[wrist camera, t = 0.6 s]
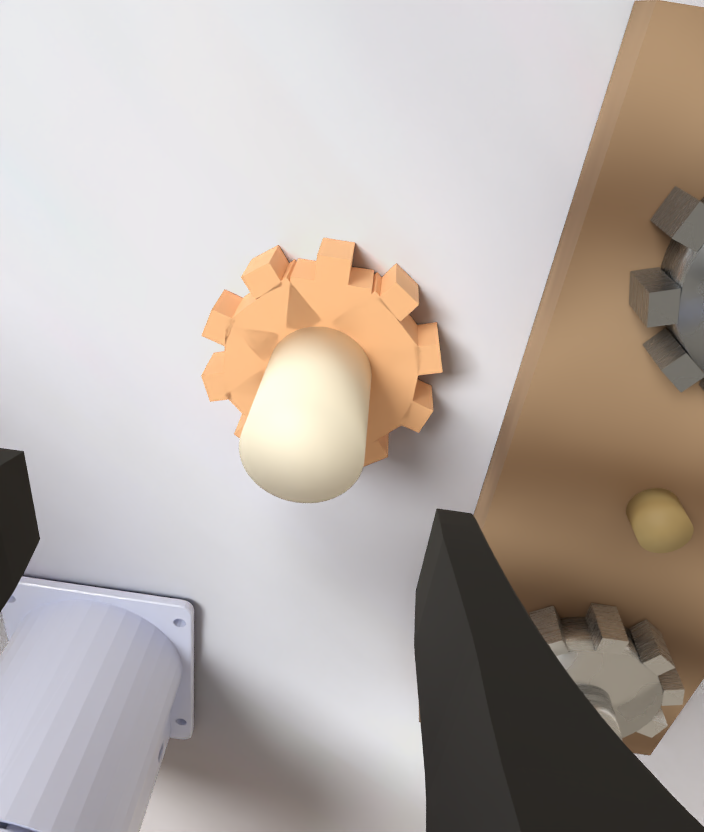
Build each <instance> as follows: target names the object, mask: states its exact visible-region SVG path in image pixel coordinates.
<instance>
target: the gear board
mask: <svg viewBox="0 0 704 832" xmlns="http://www.w3.org/2000/svg"><path fill="white" fill-rule="evenodd" d="M675 186H676V187H678V188H680V189H682V190H683V191H685V192H687V193H688V194H690V195H692V196H694V197H695V198H697V199H699V200H701V199H702V198H703V197H704V7H698V6H692V5H686V4H679V3H673V2H667V1H661V0H643V1H635V2H634V5H633V8H632V11H631V14H630V18H629V21H628V24H627V27H626V30H625V34H624V37H623V40H622V43H621V46H620V50H619V53H618V56H617V59H616V62H615V65H614V69H613V72H612V75H611V78H610V81H609V85H608V88H607V91H606V94H605V97H604V101H603V104H602V107H601V110H600V113H599V117H598V120H597V123H596V126H595V129H594V132H593V136H592V139H591V142H590V145H589V148H588V152H587V155H586V158H585V161H584V164H583V168H582V171H581V174H580V177H579V180H578V184H577V187H576V190H575V193H574V196H573V199H572V203H571V206H570V209H569V212H568V215H567V219H566V222H565V225H564V228H563V231H562V235H561V238H560V241H559V244H558V247H557V251H556V254H555V257H554V260H553V263H552V266H551V270H550V273H549V276H548V279H547V282H546V286H545V289H544V292H543V295H542V298H541V302H540V305H539V308H538V311H537V314H536V318H535V321H534V324H533V327H532V330H531V333H530V337H529V340H528V343H527V346H526V349H525V353H524V356H523V359H522V362H521V365H520V369H519V372H518V375H517V378H516V381H515V384H514V388H513V391H512V394H511V397H510V400H509V404H508V407H507V410H506V413H505V416H504V420H503V423H502V426H501V429H500V432H499V436H498V439H497V442H496V445H495V448H494V451H493V455H492V458H491V461H490V464H489V467H488V471H487V474H486V477H485V480H484V483H483V487H482V490H481V493H480V496H479V499H478V503H477V506H476V509H475V512H474V515H473V516H474V517H475V519H476V520H477V522H478V524H479V526H480V528H481V530H482V532H483V534H484V536H485V538H486V540H487V542H488V544H489V546H490V548H491V550H492V552H493V554H494V556H495V558H496V559H497V561H498V563H499V565H500V567H501V568H502V570H503V572H504V574H505V576H506V577H507V579H508V581H509V583H510V584H511V586H512V588H513V590H514V591H515V593H516V595H517V596H518V598H519V599H520V601H521V603H522V604H523V606H524V608H525V609H526V611H527V613H528V614H529V613H530V612H534V611H537V610H540V609H544V608H547V607H551V606H554V608H555V609H556V611H557V613H558V615H559V617H560V619H561V618H569V617H585V615H586V613H587V611H588V609H589V607H590V605H591V603H594V604H601V605H608V606H615V607H617V610H618V613H619V615H620V618H621V621H622V624H623V626H625V627H626V628H628V629H630V628H631V627H633V626H635V625H636V624H638V623H640V622H642V621H644V620H646V619H647V620H648V621H649V622H650V623H651V624H652V625H653V626H654V627H656V628H657V629H658V630H659V631H660V632H661V634H662V636H663V639H664V641H665V644H666V646H667V648H668V651H669V653H670V655H671V658H672V660H673V663H674V665H675V667H676V670H677V672H678V675H679V677H680V679H681V682H682V684H683V687H684V689H685V691H684V698H683V705H670V706H662V705H661V708H662V711H663V714H664V716H665V719H666V722H667V724H668V726H667V727H666V728H664V729H663V730H662V731H660V732H659V733H658V734H656V735H655V736H654V737H652V738H651V737H648V736H646V735H643V734H640V733H638V732H634V733H633V734H630V735H628V736H626V737H624V738H622V741H623V743H624V744H625V745H626V746H627V747H628V748H629V749H630V750H631V751H632V752H633V753H637V754H644V755H651V753H652V752H653V750H654V749H655V748H656V746H657V745H658V743H659V742H660V740H661V739H662V737H663V736H664V735H665V733H666V732H667V730H668V729H669V727H670V726H671V725H672V723H673V722H674V720H675V719H676V717H677V716H678V714H679V713H680V712H681V710H682V709H683V707H684V706H685V704H686V703H687V702H688V700H689V699H690V697H691V696H692V694H693V693H694V691H695V690H696V689H697V687H698V686H699V684H700V683H701V681H702V680H703V679H704V391H703V389H702V388H701V387H700V386H699V384H700V382H701V380H702V379H701V380H699V381H698V382H696V383H695V384H693V385H692V386H690V387H689V388H687V389H686V390H684V391H683V392H680V391H679V390H678V389H677V388H676V387H675V386H674V384H673V383H672V382H671V381H670V380H669V379H668V378H667V377H666V375H665V374H664V373H663V372H662V371H661V370H660V368H659V367H658V365H657V364H656V363H655V361H654V360H653V359H652V357H651V356H650V354H649V353H648V352H647V350H646V349H645V347H644V346H643V345H642V344H644V343H645V342H646V341H648V340H649V339H651V338H652V337H653V336H655V335H656V334H657V333H659V332H660V331H662V330H663V329H664V328H666V329H667V330H668V328H667V326H666V325H664V326H656V327H649V328H647V327H646V326H645V324H644V323H643V322H642V320H641V319H640V318H639V317H638V315H637V314H636V313H635V311H634V310H633V309H632V308H631V306H630V305H629V287H630V271H635V270H642V269H649V268H656V267H660V268H661V264H662V261H663V258H664V255H665V252H666V249H667V247H668V245H669V243H670V241H671V239H672V238H671V237H669V236H668V235H667V234H666V233H665V232H663V231H662V230H661V229H660V228H659V227H658V226H656V225H655V224H654V223H653V222H652V221H650V219H651V218H652V217H653V215H654V214H655V212H656V211H657V210H658V208H659V207H660V206H661V204H662V203H663V202H664V200H665V199H666V198H667V196H668V195H669V194H670V192H671V191H672V190H673V188H674V187H675ZM668 331H669V330H668ZM669 332H670V331H669ZM670 334H671V333H670ZM671 335H672V334H671ZM697 366H698V365H697ZM702 372H703V371H702ZM703 373H704V372H703ZM529 616H530V614H529ZM419 722H421V721H420V709H419Z"/></svg>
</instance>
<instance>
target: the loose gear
mask: <svg viewBox="0 0 704 832" xmlns="http://www.w3.org/2000/svg"><path fill="white" fill-rule="evenodd" d="M354 247H355V243H354V242H347V241H341V240H334V239H328V238H323V240H322V243H321V246H320V249H319V252H318V254H317V261H312V260H306V259H299V258H298V260H297V262H296V260H295V259H294V260H293V261H291V262H290V263H289V262H288V260H287V259H286V257H285V255H284V254H283V252H282V250H281V249H280V247H279V245H278V246H276V247H274V248H272V249H270V250H268V251H266V252H265V253H263V254H261V255H259V256H257V257H255V258H253V259H252V260H251V262H250V263H249V265H248V267H247V268H246V270H245V271H244V273H243V275H242V276H241V278H242V280H243V281H244V283H245V284H246V286H247V288H248V289H249V291H250V293H249V294H248V295H246V296H245V297H244V298H242V297H239V296H237V295H235V294H233V293H231V292H229V291H226V290H224V291H223V293H222V294H221V296H220V297H219V299H218V301H217V302H216V304H215V305H214V307H213V308H212V310H211V313H210V315H209V318H208V321H207V323H206V326H205V328H204V331H203V333H202V336H203V337H206V338H208V339H210V340H212V341H215V342H217V343H219V344H221V345H223V346H225V351H224V352H216V353H214V354H213V355H212V357H211V359H210V361H209V363H208V364H207V366H206V368H205V370H204V372H203V373H202V375H201V376H202V379H203V382H204V385H205V388H206V391H207V394H208V397H209V400H210V402H211V401H219V400H227V399H229V400H230V401H231V402H232V403H233V404H234V405H235V406H236V407H237V409H238V410H239V411H240V412H241V413H242V416H241V418H240V421H239V423H238V426H237V428H236V431H235V433H234V434H235V435H236V436H237V437H239V438H240V441H239V453H240V458H241V461H242V464H243V466H244V468H245V470H246V472H247V473H248V475H249V476H250V477H251V478H252V480H253V481H254V482H255V483H256V484H257V485H259V486H260V487H261V488H262V489H264V490H265V491H267V492H268V493H270V494H272V495H274V496H276V497H279V498H281V499H284V500H288V501H292V502H298V503H317V502H323V501H327V500H330V499H333V498H335V497H337V496H339V495H341V494H343V493H344V492H346V491H347V490H348V489H349V488H351V487H352V486H353V484H354V483H355V482H356V481H357V479H358V478H359V476H360V474H361V472H362V469H363V467H364V466H366V465H369V464H372V463H374V462H377V461H379V460H382V459H384V458H387V457H388V440H389V432H391V431H393V430H394V429H396V428H398V427H400V426H401V425H402V426H404V427H406V428H409V429H411V430H413V431H415V432H418V433H419V432H420V430H421V429H422V427H423V426H424V424H425V423H426V421H427V420H428V418H429V417H430V415H431V414H432V412H433V399H432V386H431V385H429V384H426V383H424V382H422V381H420V380H418V379H417V378H418V375H426V374H434V373H442V372H443V371H442V362H441V353H440V345H439V336H438V328H437V322H434V323H427V324H420V325H417V324H416V323H415V321H414V320H413V319H412V317H411V316H410V315H409V313H411V312H412V311H413V310H414V309H415V308H416V307H417V306H418V305H419V292H418V284H417V283H416V282H415V281H414V280H413V279H412V278H411V277H410V276H409V275H408V274H407V273H406V272H405V271H404V270H403V269H402V268H401V267H400V266H399V265H398V264H397V263H396V264H395V265H394V266H393V267H392V268H391V269H390V270H389V271H388V272H387V273H386V274H385V275H384V276H383V277H381V276H380V275H379V273H378V272H377V273H375V274H374V270H370V269H364V268H357V267H352V261H353V254H354Z"/></svg>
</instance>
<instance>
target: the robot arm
mask: <svg viewBox="0 0 704 832" xmlns="http://www.w3.org/2000/svg"><path fill="white" fill-rule="evenodd" d="M39 540H40V537H39V531H38V526H37V520H36V515H35V510H34V504H33V499H32V493H31V488H30V482H29V477H28V472H27V466H26V461H25V455H24V451H17V450H10V449H3V448H0V612H2V616H3V621H4V625H5V629H6V633H7V638H8V643H7V645H6V647H5V648H4V650H3V651H2V653H1V655H0V832H139V831H140V828H141V825H142V822H143V819H144V816H145V813H146V809H147V806H148V803H149V800H150V797H151V794H152V791H153V788H154V785H155V781H156V778H157V775H158V772H159V769H160V766H161V763H162V760H163V757H164V753H165V750H166V747H167V744H168V741H169V738H175V739H189V738H190V737H191V736H192V733H193V729H194V608H193V606H192V605H191V603H189V602H188V601H185V600H181V599H174V598H167V597H161V596H154V595H147V594H140V593H133V592H126V591H119V590H113V589H106V588H99V587H92V586H85V585H78V584H71V583H64V582H58V581H51V580H44V579H37V578H30V577H23V576H22V575H23V573H24V571H25V569H26V568H27V565H28V563H29V561H30V559H31V557H32V555H33V553H34V551H35V549H36V546H37V544H38V542H39ZM414 648H415V661H416V674H417V686H418V698H419V709H420V721H421V733H422V744H423V756H424V768H425V785H426V832H704V827H703V826H702V825H701V824H700V823H699V822H698V821H697V820H696V819H695V818H694V817H693V816H692V815H691V814H690V813H689V812H688V811H687V810H686V809H685V808H684V807H683V806H682V805H681V804H680V803H679V802H678V801H677V800H676V799H675V798H674V797H673V796H672V795H671V794H670V793H669V791H668V790H667V789H666V788H665V787H664V786H663V785H662V784H661V783H660V782H659V781H658V780H657V778H656V777H655V776H654V775H653V774H652V773H651V772H650V771H649V770H648V769H647V768H646V767H645V765H644V764H643V763H642V762H641V761H640V760H639V759H638V758H637V757H636V756H635V755H634V754H633V752H632V751H631V750H630V749H629V748H628V747H627V746H626V745H625V744H624V743H623V741H622V740H621V739H620V738H619V737H618V735H617V734H616V733H615V732H614V731H613V730H612V728H611V727H610V726H609V725H608V724H607V722H606V721H605V720H604V719H603V718H602V716H601V715H600V714H599V713H598V711H597V710H596V709H595V708H594V706H593V705H592V704H591V703H590V701H589V700H588V699H587V697H586V696H585V695H584V694H583V692H582V691H581V690H580V688H579V687H578V686H577V684H576V683H575V682H574V680H573V679H572V678H571V676H570V675H569V674H568V672H567V671H566V669H565V668H564V667H563V665H562V664H561V663H560V661H559V660H558V658H557V657H556V655H555V654H554V652H553V651H552V649H551V648H550V646H549V645H548V644H547V642H546V641H545V639H544V638H543V636H542V635H541V633H540V632H539V630H538V628H537V627H536V625H535V624H534V622H533V621H532V619H531V618H530V616H529V614H528V613H527V611H526V609H525V608H524V606H523V604H522V603H521V601H520V599H519V598H518V596H517V595H516V593H515V591H514V590H513V588H512V586H511V584H510V583H509V581H508V579H507V577H506V576H505V574H504V572H503V570H502V568H501V567H500V565H499V563H498V561H497V559H496V558H495V556H494V554H493V552H492V550H491V548H490V546H489V544H488V542H487V540H486V538H485V536H484V534H483V532H482V530H481V528H480V526H479V524H478V522H477V520H476V519H475V517H474V516H473V515H472V513H465V512H457V511H450V510H443V509H437V510H436V514H435V518H434V521H433V525H432V529H431V533H430V537H429V541H428V545H427V549H426V553H425V557H424V561H423V565H422V569H421V573H420V577H419V580H418V584H417V588H416V602H415V635H414Z"/></svg>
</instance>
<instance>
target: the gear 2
mask: <svg viewBox="0 0 704 832" xmlns="http://www.w3.org/2000/svg"><path fill="white" fill-rule="evenodd" d="M650 221H652V222H653V223H654V224H655V225H656V226H658V227H659V228H660V229H661V230H662V231H663V232H665V233H666V234H667V235H668V236H669V237H671V238H672V239H671V241H670V243H669V245H668V247H667V249H666V252H665V255H664V258H663V261H662V264H661V268H660V267H656V268H649V269H642V270H635V271H630V287H629V305H630V306H631V308H632V309H633V310H634V311H635V313H636V314H637V315H638V317H639V318H640V319H641V320H642V322H643V323H644V324H645V326H646V327H647V328H649V327H656V326H664V325H666V326H667V328H668V330H669V331H670V332H669V331H668V330H667V329H666V328H664V329H663V330H662V331H660V332H659V333H657V334H656V335H655V336H653V337H652V338H651V339H649V340H648V341H646V342H645V343H644V344H642V345H643V346H644V347H645V349H646V350H647V352H648V353H649V354H650V356H651V357H652V359H653V360H654V361H655V363H656V364H657V365H658V367H659V368H660V370H661V371H662V372H663V373H664V374H665V375H666V377H667V378H668V379H669V380H670V381H671V382H672V383H673V384H674V386H675V387H676V388H677V389H678V390H679V391H680V392H683V391H684V390H686V389H687V388H689V387H690V386H692V385H693V384H695V383H696V382H698V381H699V380H701V379H702V380H701V382H700V384H699V386H700V387H701V388H702V389H703V391H704V373H703V372H704V197H703V198H702V199H701V200H699V199H697V198H695V197H694V196H692V195H690V194H688V193H687V192H685V191H683V190H682V189H680V188H678V187H676V186H675V187H674V188H673V190H672V191H671V192H670V194H669V195H668V196H667V198H666V199H665V200H664V202H663V203H662V204H661V206H660V207H659V208H658V210H657V211H656V212H655V214H654V215H653V217H652V218H651V219H650ZM670 333H671V334H672V335H671V334H670ZM697 365H698V366H697ZM702 371H703V372H702Z"/></svg>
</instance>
